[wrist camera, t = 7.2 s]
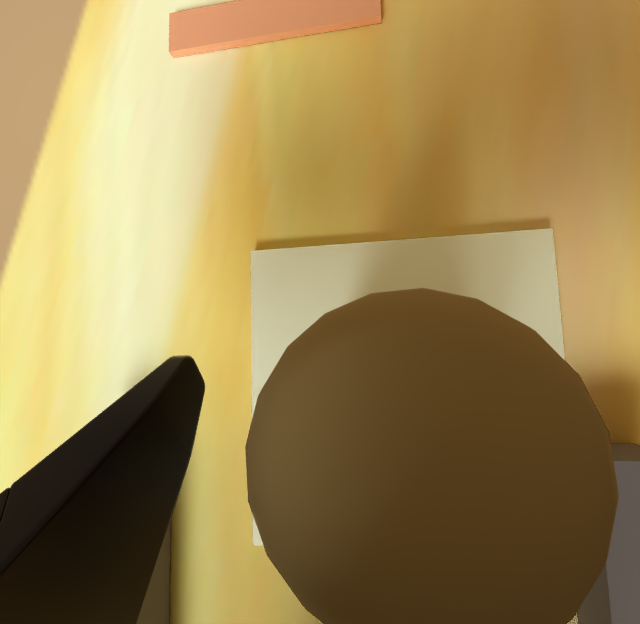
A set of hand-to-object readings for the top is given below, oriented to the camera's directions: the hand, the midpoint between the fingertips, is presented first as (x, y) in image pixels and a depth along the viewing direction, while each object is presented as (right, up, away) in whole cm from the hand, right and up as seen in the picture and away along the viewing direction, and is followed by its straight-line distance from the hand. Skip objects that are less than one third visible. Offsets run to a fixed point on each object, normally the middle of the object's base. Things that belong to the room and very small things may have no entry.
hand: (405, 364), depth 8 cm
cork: (+1, -2, +8) cm, 8 cm away
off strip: (-4, +15, +10) cm, 18 cm away
